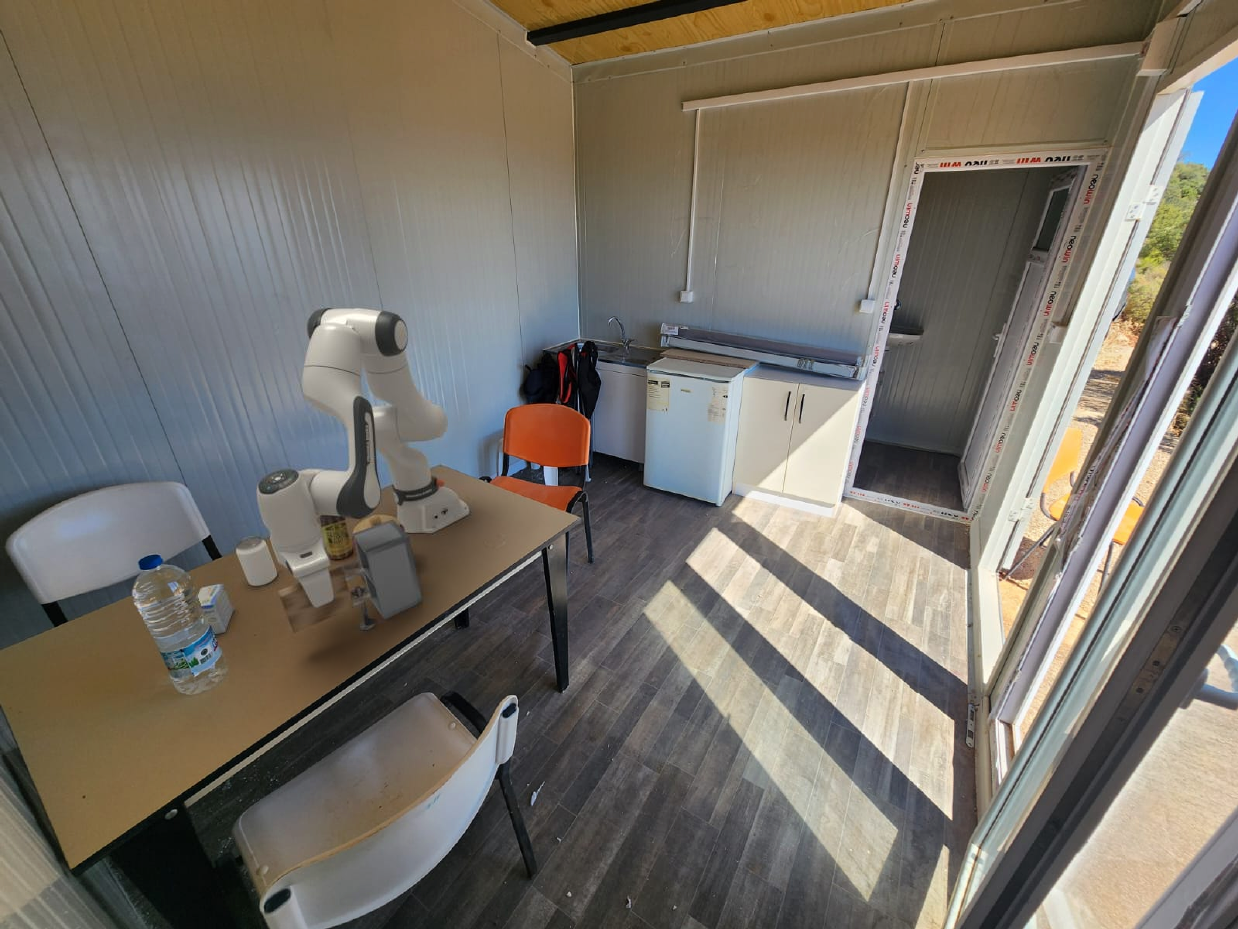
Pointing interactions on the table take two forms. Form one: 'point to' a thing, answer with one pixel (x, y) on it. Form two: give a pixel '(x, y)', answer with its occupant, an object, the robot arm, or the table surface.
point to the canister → (372, 522)
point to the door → (308, 615)
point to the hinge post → (364, 613)
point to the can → (256, 561)
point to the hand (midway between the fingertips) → (317, 599)
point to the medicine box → (216, 606)
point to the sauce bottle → (336, 536)
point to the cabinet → (388, 568)
